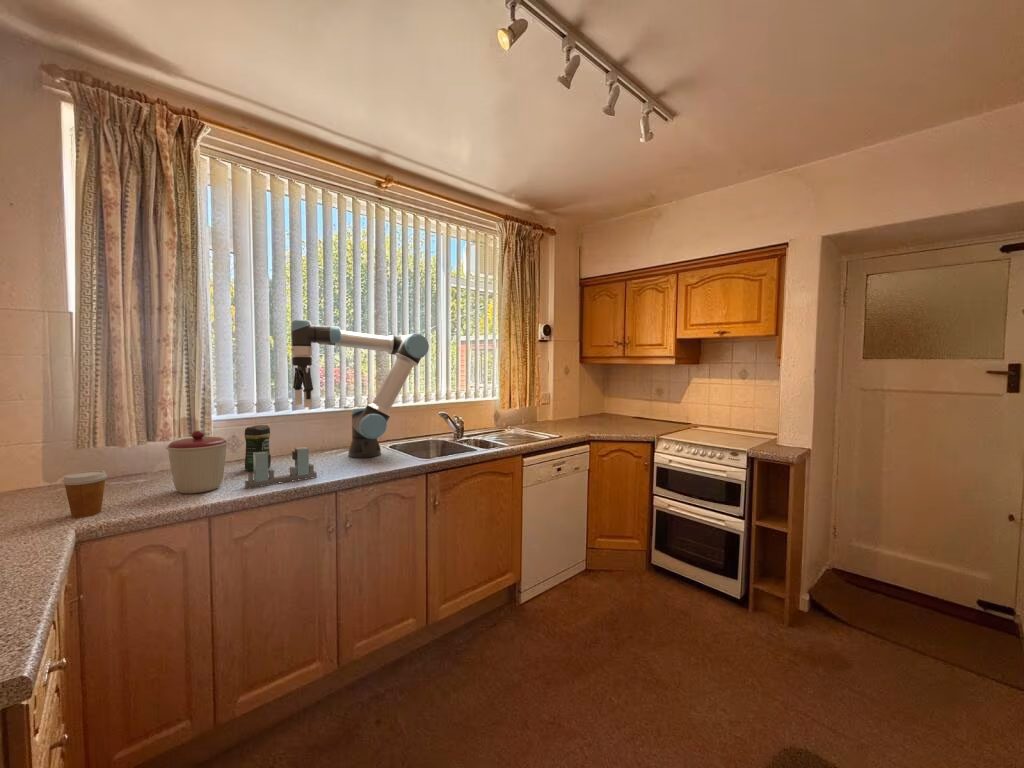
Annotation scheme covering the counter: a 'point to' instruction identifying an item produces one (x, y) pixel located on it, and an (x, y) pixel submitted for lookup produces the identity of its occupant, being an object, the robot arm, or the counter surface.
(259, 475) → the grey rectangular block
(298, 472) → the rail
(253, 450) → the coffee jar
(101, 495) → the disposable coffee cup
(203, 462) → the canister
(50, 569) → the counter surface
